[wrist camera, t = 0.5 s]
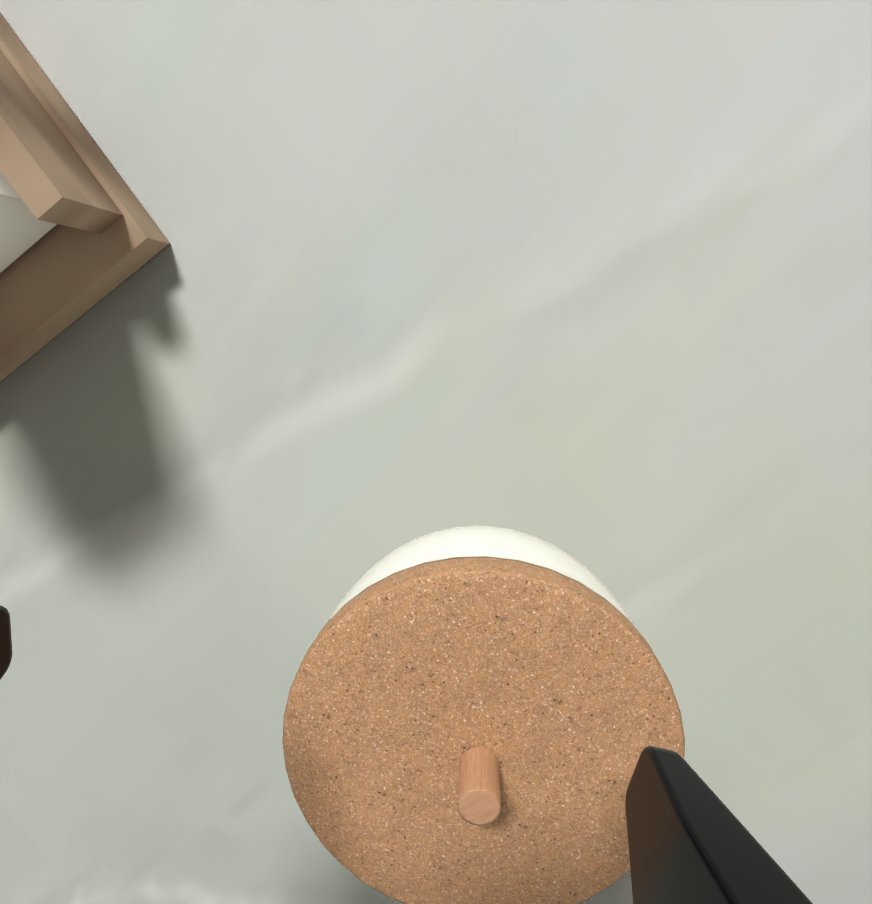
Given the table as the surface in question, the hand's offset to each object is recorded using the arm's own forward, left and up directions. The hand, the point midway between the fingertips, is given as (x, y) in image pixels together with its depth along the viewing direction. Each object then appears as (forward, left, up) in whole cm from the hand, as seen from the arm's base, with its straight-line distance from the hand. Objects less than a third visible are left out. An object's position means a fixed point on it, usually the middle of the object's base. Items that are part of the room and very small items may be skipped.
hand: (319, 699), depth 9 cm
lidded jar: (-5, -4, -15) cm, 16 cm away
